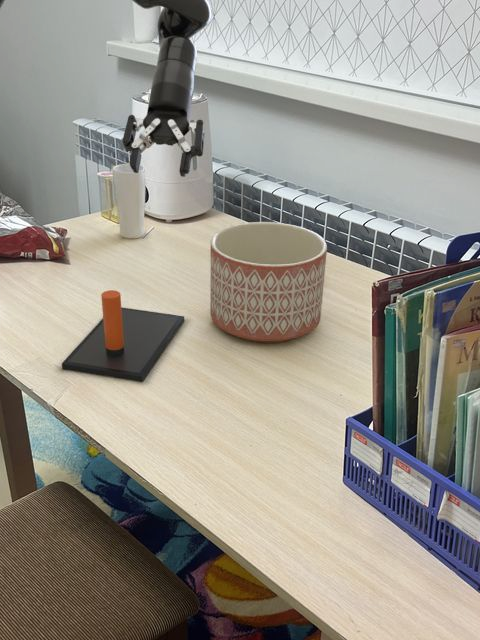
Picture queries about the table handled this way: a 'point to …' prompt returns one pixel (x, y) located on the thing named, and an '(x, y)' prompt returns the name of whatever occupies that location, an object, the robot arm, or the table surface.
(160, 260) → the table surface
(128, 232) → the drinking glass
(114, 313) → the orange peg
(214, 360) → the table surface
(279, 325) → the planter
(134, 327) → the tablet
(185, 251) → the table surface
